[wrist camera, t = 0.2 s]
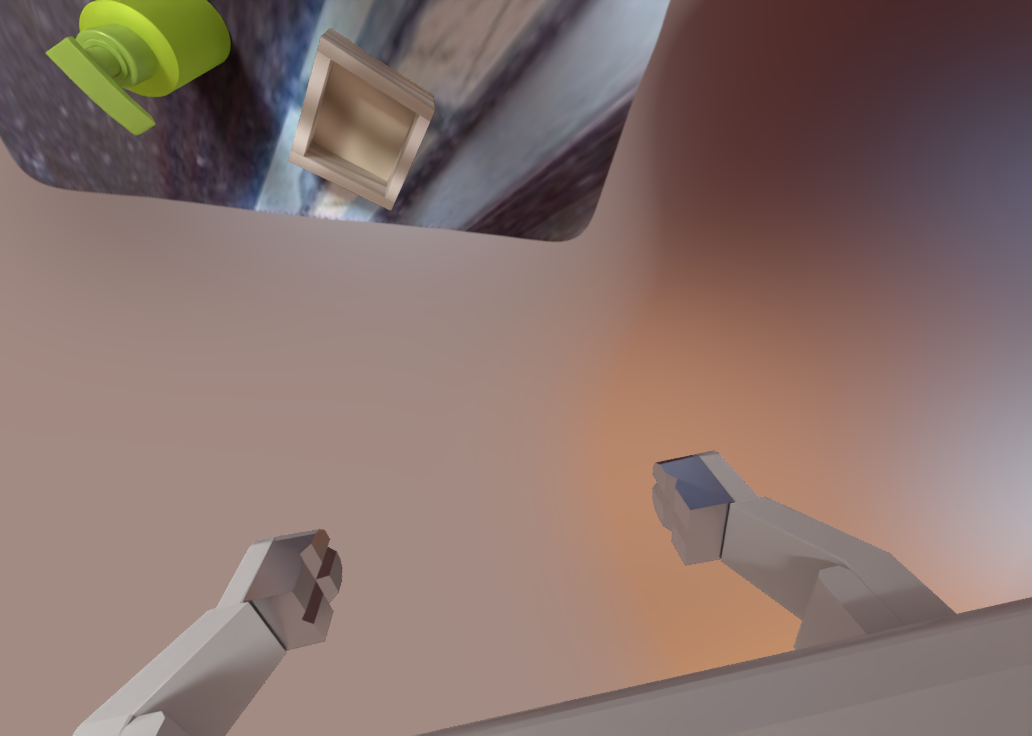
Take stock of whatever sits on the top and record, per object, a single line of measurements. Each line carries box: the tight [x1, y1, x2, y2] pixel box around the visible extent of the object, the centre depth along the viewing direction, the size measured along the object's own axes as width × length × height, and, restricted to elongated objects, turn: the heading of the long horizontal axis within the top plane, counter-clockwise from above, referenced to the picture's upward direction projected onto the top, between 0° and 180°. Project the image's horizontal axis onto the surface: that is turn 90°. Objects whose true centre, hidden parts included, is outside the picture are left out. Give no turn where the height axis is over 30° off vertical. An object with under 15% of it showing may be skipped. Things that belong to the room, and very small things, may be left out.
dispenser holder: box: [289, 28, 435, 211], centre depth 45 cm, size 12×11×6 cm
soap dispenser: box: [46, 0, 231, 136], centre depth 33 cm, size 6×7×20 cm
